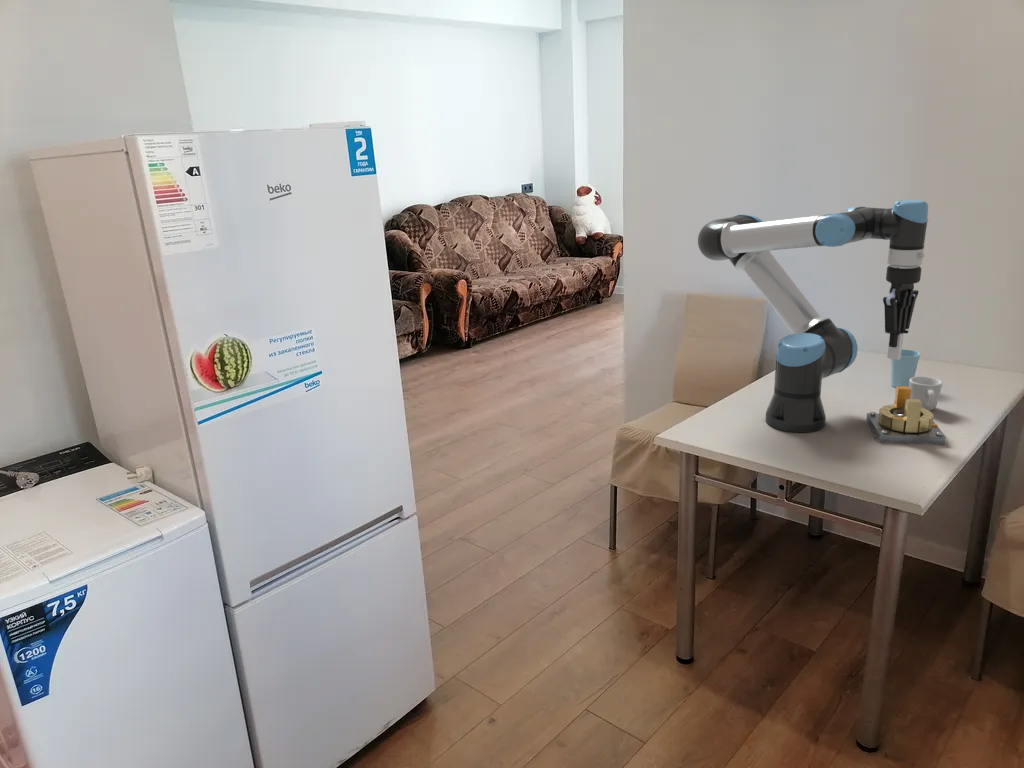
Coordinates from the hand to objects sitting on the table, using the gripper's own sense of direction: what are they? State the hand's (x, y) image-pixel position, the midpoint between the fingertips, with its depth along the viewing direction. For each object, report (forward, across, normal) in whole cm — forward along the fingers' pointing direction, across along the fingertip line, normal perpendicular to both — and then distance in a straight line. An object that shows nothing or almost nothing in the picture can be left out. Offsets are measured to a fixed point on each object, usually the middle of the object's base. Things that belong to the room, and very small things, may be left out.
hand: (893, 358), depth 192 cm
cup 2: (+19, +19, -1) cm, 27 cm away
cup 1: (+19, +34, +13) cm, 41 cm away
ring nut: (+17, 0, -5) cm, 17 cm away
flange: (+19, 0, -5) cm, 19 cm away
